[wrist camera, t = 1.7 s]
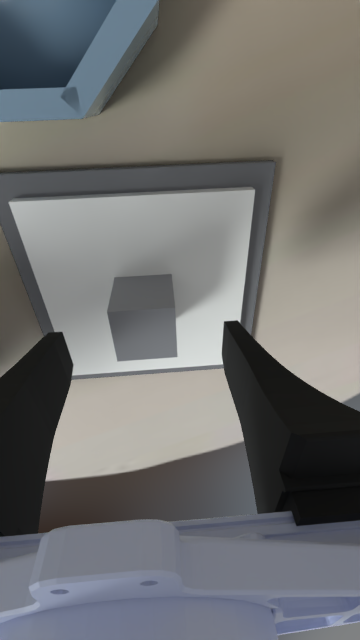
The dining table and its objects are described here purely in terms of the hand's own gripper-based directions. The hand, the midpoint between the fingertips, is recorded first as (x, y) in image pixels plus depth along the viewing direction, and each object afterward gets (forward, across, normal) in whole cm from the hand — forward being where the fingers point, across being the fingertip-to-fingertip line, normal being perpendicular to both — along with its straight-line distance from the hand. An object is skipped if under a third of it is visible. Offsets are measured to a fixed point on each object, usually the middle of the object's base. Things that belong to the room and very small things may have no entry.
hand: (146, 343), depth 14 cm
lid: (+4, 0, 0) cm, 4 cm away
